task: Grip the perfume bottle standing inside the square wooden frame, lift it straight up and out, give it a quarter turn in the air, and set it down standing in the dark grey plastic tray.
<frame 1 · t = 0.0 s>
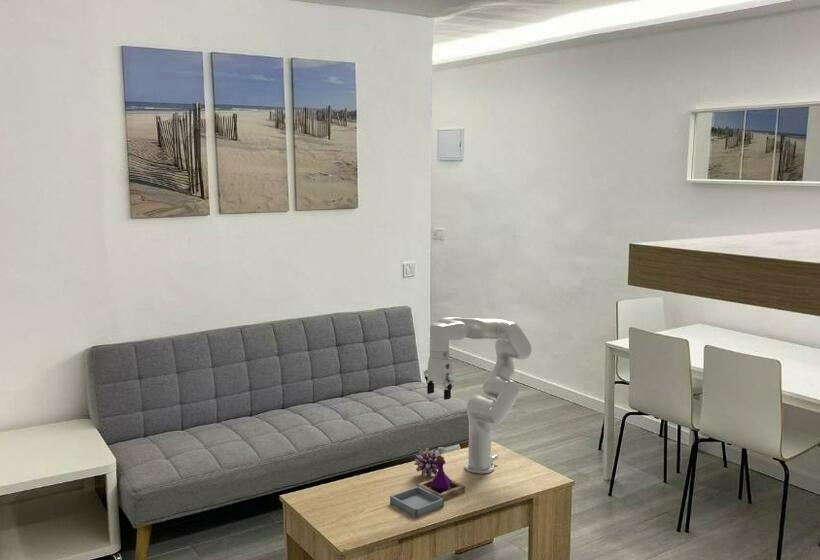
hand: (438, 396, 294), 37 cm above the table, tool pointing down, fingers open, 9 cm apart
flower: (428, 476, 307), on the table
perfume bottle: (440, 491, 293), resting in square wooden frame
square wooden frame: (440, 491, 293), on the table
tray: (416, 504, 281), on the table
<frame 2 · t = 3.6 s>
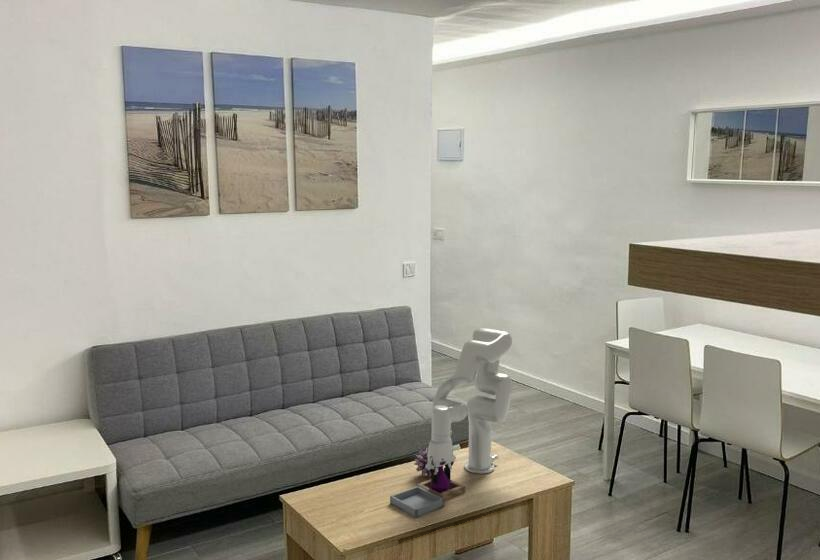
hand: (440, 480, 292), 5 cm above the table, tool pointing down, fingers closed on perfume bottle, 6 cm apart
perfume bottle: (440, 491, 293), resting in square wooden frame, touching gripper
everything else where it was.
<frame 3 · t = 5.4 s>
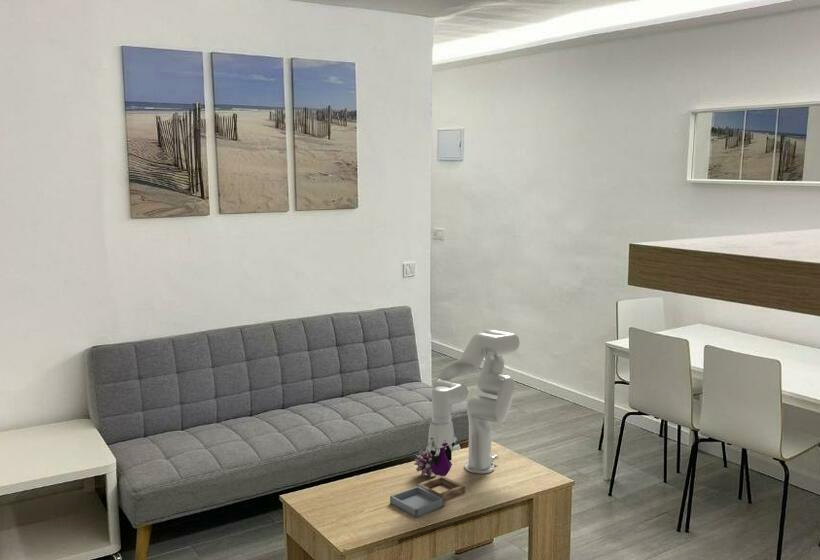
hand: (441, 461, 291), 12 cm above the table, tool pointing down, fingers closed on perfume bottle, 6 cm apart
perfume bottle: (441, 474, 292), point 7 cm above the table, touching gripper
everything else where it was.
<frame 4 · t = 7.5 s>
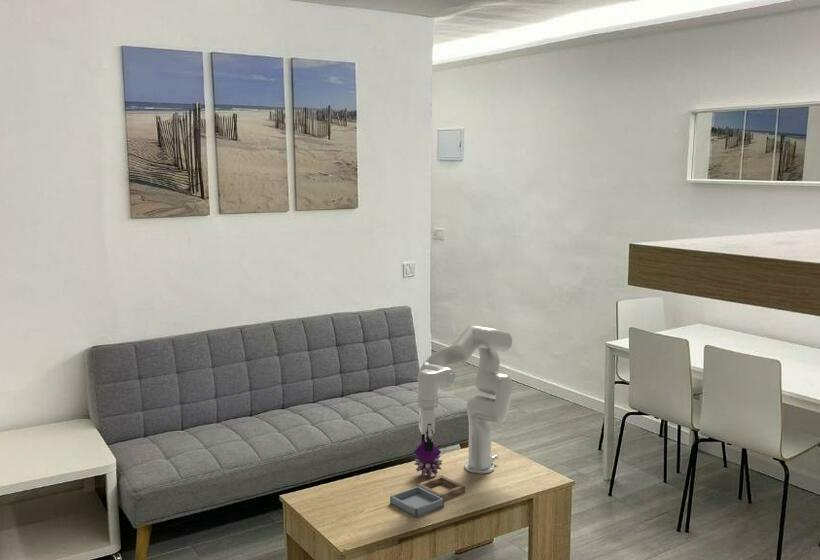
hand: (427, 447, 283), 21 cm above the table, tool pointing down, fingers closed on perfume bottle, 6 cm apart
perfume bottle: (427, 460, 283), point 16 cm above the table, touching gripper
everything else where it was.
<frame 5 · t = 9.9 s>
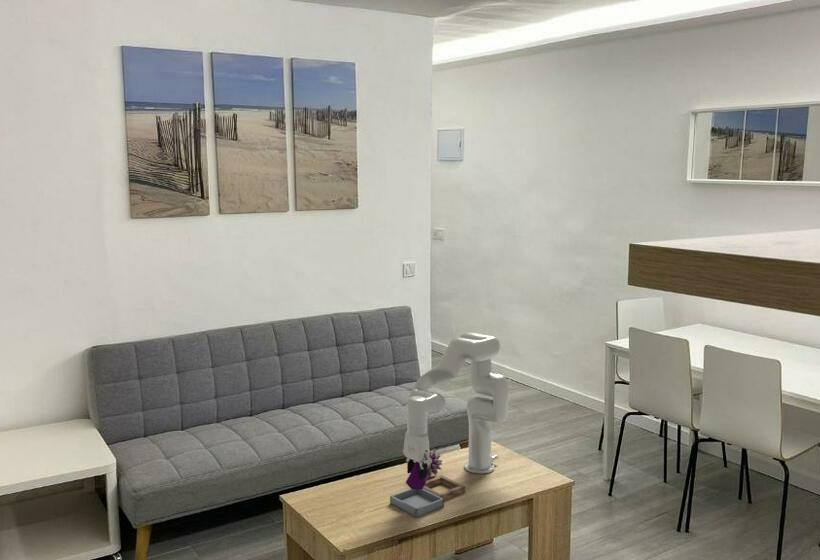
hand: (416, 474, 279), 12 cm above the table, tool pointing down, fingers closed on perfume bottle, 6 cm apart
perfume bottle: (417, 488, 279), point 7 cm above the table, touching gripper
everything else where it was.
when the fingers open (6 cm above the table, at t = 11.9 s): perfume bottle stays where it is, resting on tray.
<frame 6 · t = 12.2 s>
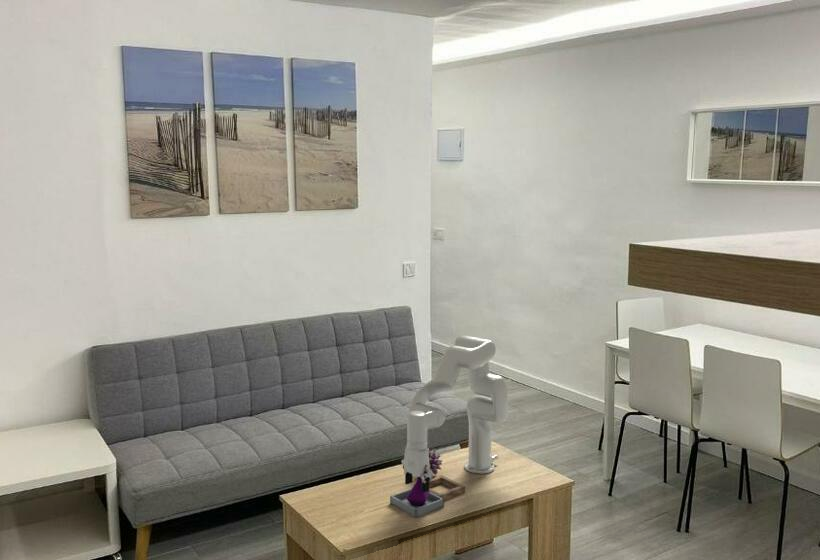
hand: (417, 487, 280), 7 cm above the table, tool pointing down, fingers open, 9 cm apart
perfume bottle: (418, 504, 281), resting on tray
everything else where it was.
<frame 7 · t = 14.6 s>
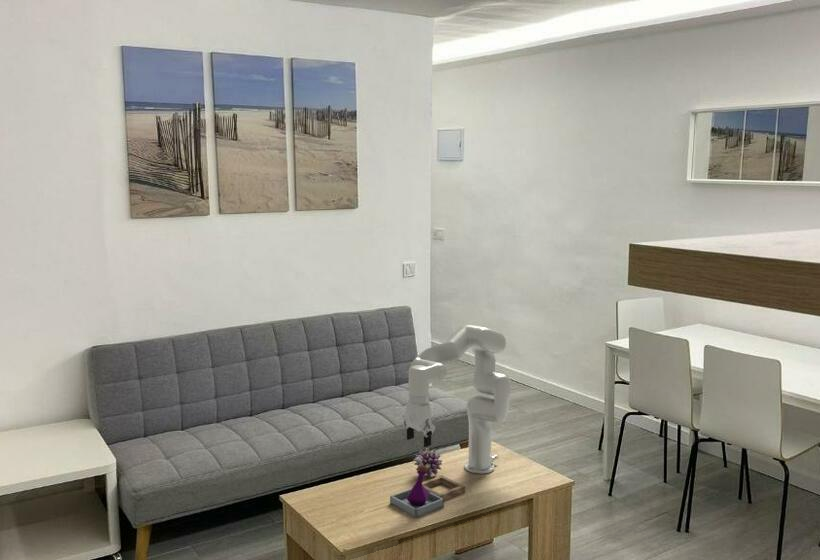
hand: (418, 442, 278), 24 cm above the table, tool pointing down, fingers open, 9 cm apart
nothing on the table moved.
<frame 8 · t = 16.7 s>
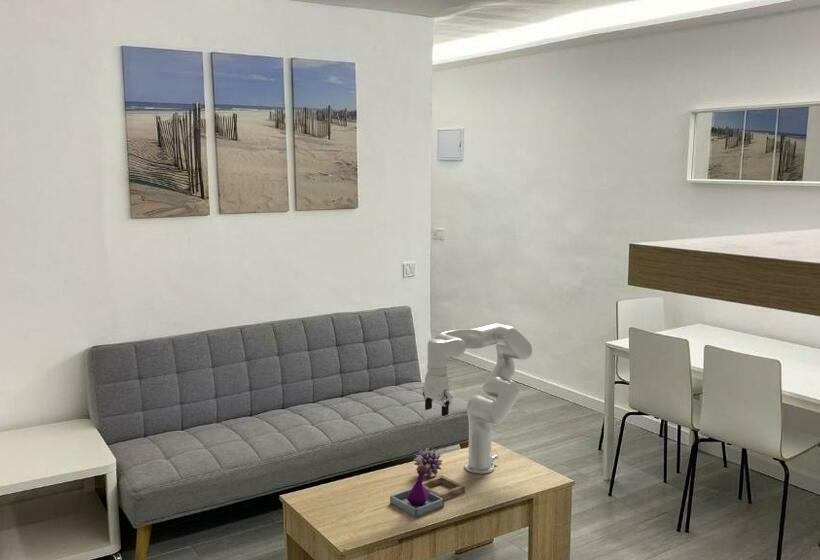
hand: (436, 412, 294), 30 cm above the table, tool pointing down, fingers open, 9 cm apart
nothing on the table moved.
at the end: perfume bottle inside the target area on the tray (0.5 cm from its centre), point 0.4 cm above the tray's base; perfume bottle tilted 0°; the gripper is holding nothing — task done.
